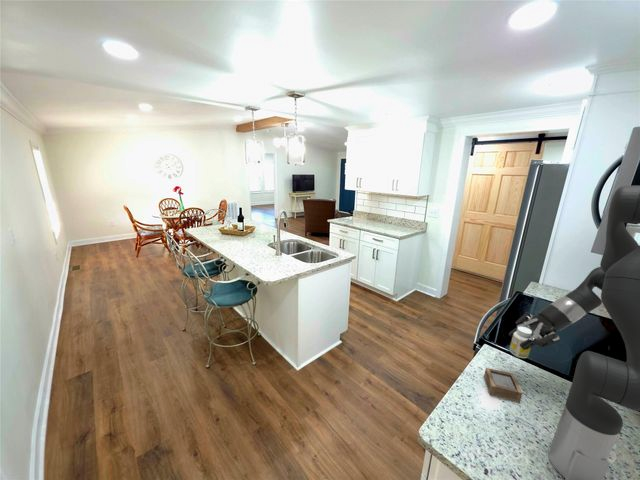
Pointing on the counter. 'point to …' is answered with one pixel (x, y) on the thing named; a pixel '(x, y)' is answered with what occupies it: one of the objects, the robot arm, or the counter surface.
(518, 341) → the supplement bottle
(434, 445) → the counter surface
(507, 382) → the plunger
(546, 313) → the robot arm
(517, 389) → the brown square tray
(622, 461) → the counter surface
